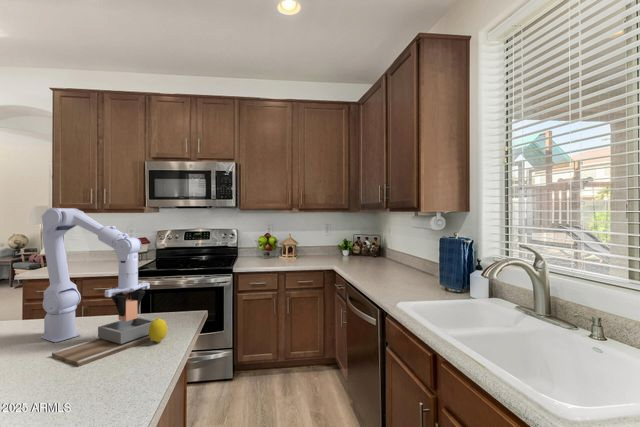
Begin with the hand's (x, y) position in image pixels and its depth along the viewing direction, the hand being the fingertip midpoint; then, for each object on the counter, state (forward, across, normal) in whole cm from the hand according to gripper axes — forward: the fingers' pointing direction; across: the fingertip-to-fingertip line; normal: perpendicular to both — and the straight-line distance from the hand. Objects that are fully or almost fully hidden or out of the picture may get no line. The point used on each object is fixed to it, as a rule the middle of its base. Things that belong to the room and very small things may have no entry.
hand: (128, 314), depth 116 cm
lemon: (+9, +3, -11) cm, 14 cm away
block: (+2, 0, 0) cm, 2 cm away
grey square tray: (+8, 0, 0) cm, 8 cm away
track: (+9, -6, 0) cm, 10 cm away
